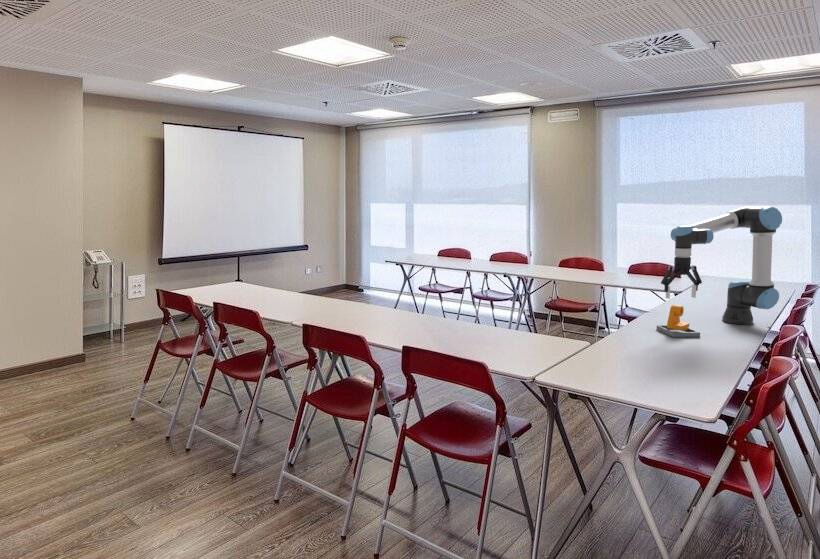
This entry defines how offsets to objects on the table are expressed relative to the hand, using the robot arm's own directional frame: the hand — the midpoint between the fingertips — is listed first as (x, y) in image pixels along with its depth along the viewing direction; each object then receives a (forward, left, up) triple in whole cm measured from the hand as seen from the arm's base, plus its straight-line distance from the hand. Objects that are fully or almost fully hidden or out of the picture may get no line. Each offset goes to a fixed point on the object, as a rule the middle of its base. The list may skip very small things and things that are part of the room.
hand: (680, 297), depth 290 cm
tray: (0, 0, -19) cm, 19 cm away
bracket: (0, 0, -16) cm, 16 cm away
